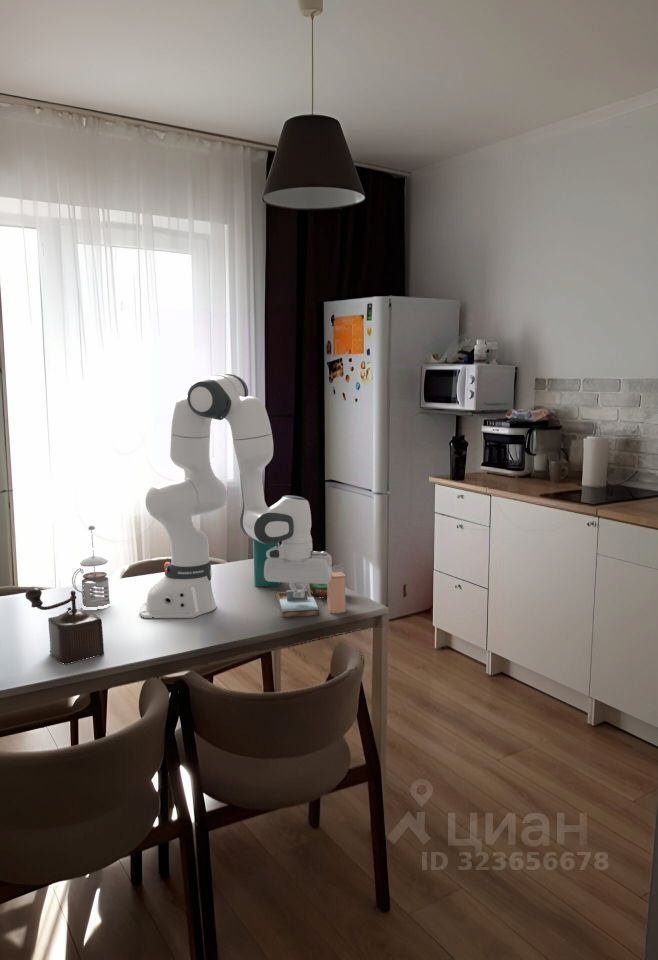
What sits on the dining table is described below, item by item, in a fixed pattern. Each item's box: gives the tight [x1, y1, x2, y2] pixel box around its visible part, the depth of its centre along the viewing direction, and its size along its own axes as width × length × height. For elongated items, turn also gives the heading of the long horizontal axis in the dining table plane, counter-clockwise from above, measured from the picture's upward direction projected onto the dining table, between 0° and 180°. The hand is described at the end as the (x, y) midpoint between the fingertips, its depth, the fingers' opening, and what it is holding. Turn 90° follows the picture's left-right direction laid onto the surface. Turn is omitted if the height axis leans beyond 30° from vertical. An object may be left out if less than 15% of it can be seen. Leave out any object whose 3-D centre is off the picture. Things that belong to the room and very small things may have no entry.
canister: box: [326, 571, 347, 614], centre depth 215 cm, size 5×5×11 cm
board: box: [275, 589, 319, 619], centre depth 221 cm, size 10×21×1 cm, turn 9°
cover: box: [280, 588, 319, 612], centre depth 216 cm, size 10×10×4 cm
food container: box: [308, 562, 345, 599], centre depth 230 cm, size 12×6×10 cm, turn 92°
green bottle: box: [252, 539, 281, 588], centre depth 244 cm, size 10×8×22 cm
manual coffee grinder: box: [24, 587, 105, 665], centre depth 183 cm, size 16×11×18 cm
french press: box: [71, 525, 111, 607], centre depth 223 cm, size 10×12×25 cm
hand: (299, 597), depth 215 cm, fingers closed
